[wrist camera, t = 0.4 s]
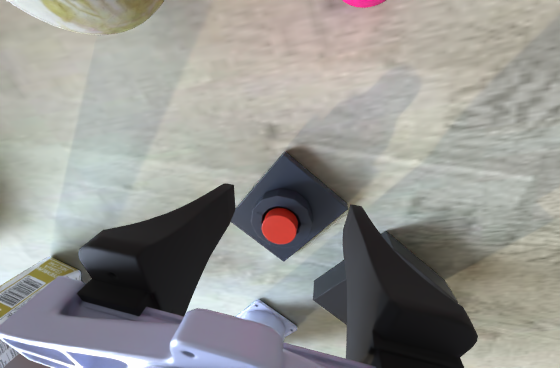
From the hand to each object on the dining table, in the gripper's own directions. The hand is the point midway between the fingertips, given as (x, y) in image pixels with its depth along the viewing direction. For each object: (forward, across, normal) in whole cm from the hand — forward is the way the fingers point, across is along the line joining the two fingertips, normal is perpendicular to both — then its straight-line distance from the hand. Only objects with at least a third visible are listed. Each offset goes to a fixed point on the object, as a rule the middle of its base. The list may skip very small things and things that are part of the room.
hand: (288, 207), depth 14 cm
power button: (+7, +1, +8) cm, 11 cm away
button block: (+10, +1, +8) cm, 13 cm away
